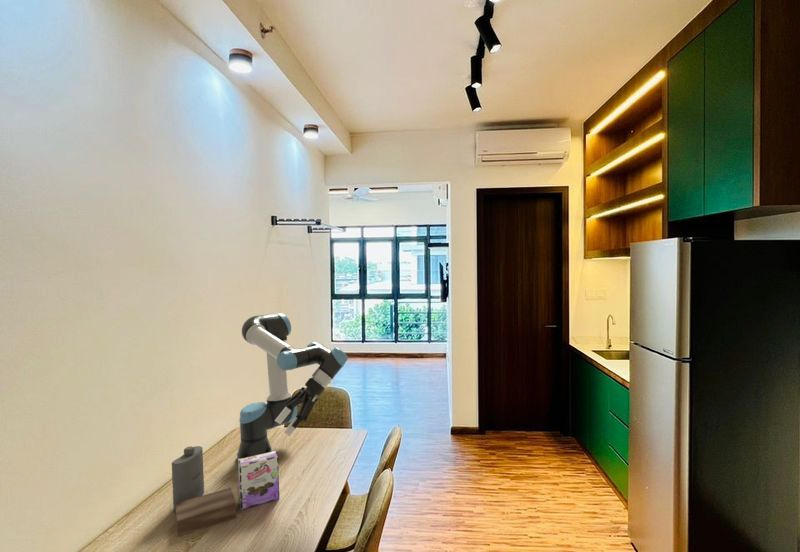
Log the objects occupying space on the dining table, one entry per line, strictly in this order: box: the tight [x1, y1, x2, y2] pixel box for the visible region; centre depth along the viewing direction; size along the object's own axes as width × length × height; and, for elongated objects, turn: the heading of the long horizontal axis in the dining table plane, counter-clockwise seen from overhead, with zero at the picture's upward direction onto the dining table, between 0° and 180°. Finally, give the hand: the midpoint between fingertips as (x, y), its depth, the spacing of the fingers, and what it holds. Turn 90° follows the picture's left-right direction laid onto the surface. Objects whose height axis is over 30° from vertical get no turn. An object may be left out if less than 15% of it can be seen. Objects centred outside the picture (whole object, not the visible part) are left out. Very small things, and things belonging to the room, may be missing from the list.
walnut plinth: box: [175, 487, 237, 537], centre depth 141 cm, size 12×18×5 cm, turn 121°
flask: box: [171, 445, 205, 513], centre depth 152 cm, size 15×6×20 cm, turn 176°
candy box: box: [237, 450, 280, 510], centre depth 150 cm, size 14×6×16 cm, turn 117°
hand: (281, 428), depth 154 cm, fingers open, 13 cm apart
